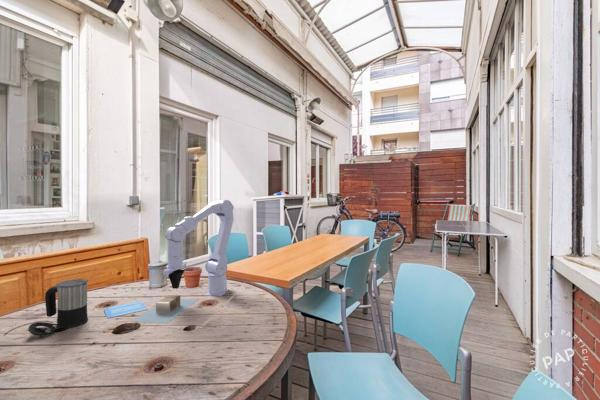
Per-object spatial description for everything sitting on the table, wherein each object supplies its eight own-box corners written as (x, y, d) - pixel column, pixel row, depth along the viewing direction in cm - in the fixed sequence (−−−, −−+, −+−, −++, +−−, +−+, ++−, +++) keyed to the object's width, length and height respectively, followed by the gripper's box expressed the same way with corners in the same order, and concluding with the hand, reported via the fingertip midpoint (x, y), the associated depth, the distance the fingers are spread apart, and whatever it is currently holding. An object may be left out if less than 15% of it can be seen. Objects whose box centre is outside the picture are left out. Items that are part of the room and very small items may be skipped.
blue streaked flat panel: (141, 303, 128) (140, 300, 128) (147, 312, 119) (147, 308, 119) (103, 311, 119) (103, 308, 119) (107, 321, 110) (107, 317, 110)
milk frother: (92, 316, 113) (92, 277, 113) (74, 335, 98) (74, 290, 98) (48, 321, 109) (47, 281, 109) (22, 341, 94) (21, 294, 94)
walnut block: (169, 295, 124) (155, 302, 115) (180, 295, 123) (167, 303, 114) (169, 304, 124) (155, 313, 115) (180, 305, 123) (167, 313, 115)
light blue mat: (168, 299, 132) (168, 298, 132) (198, 300, 130) (198, 299, 130) (131, 322, 108) (131, 321, 108) (167, 324, 106) (167, 323, 106)
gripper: (175, 252, 132) (176, 282, 132) (155, 259, 117) (156, 293, 118) (190, 252, 131) (191, 283, 131) (172, 259, 117) (173, 294, 117)
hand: (175, 288), depth 124 cm, fingers closed
